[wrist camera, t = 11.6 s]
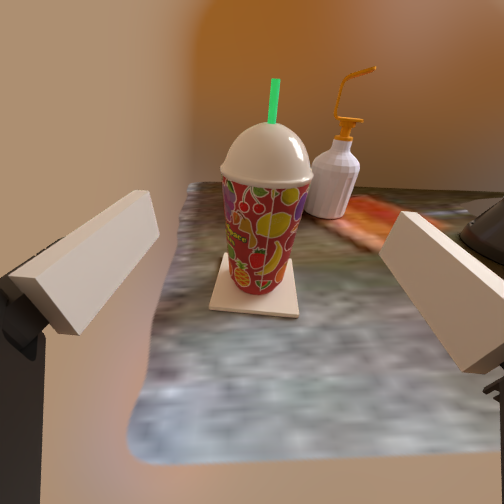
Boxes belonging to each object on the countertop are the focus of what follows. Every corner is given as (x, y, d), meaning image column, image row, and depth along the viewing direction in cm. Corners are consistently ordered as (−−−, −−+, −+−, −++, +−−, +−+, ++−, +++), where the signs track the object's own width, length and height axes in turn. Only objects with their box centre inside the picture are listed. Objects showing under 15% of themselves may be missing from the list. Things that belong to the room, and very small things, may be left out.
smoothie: (219, 262, 29) (212, 77, 17) (275, 256, 31) (302, 86, 19) (229, 310, 23) (228, 66, 11) (299, 298, 25) (361, 81, 13)
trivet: (290, 262, 31) (291, 258, 31) (298, 318, 23) (299, 314, 23) (224, 256, 31) (224, 252, 31) (209, 309, 23) (208, 306, 23)
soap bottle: (344, 223, 43) (403, 63, 28) (300, 215, 45) (334, 61, 30) (342, 206, 50) (389, 72, 35) (304, 200, 52) (333, 69, 37)
